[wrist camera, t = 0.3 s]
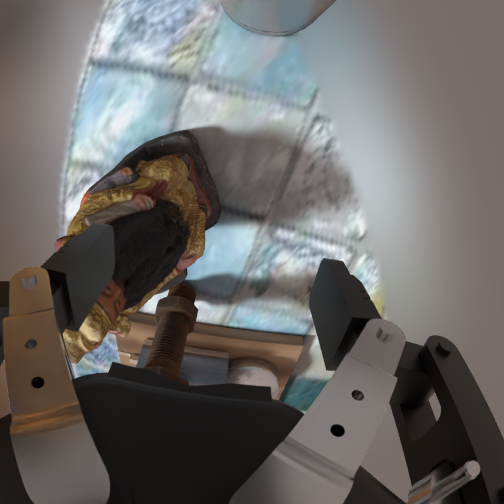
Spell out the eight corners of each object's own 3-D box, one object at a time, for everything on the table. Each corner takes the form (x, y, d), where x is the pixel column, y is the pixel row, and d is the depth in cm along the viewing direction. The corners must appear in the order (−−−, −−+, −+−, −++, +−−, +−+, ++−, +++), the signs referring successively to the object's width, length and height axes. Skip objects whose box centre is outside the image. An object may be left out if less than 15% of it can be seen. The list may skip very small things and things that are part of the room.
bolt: (198, 268, 33) (173, 379, 20) (212, 302, 36) (198, 411, 23) (153, 278, 34) (113, 382, 21) (169, 310, 37) (141, 413, 24)
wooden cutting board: (116, 308, 37) (111, 318, 35) (302, 336, 39) (304, 347, 37) (134, 402, 49) (132, 410, 47) (263, 420, 52) (263, 429, 50)
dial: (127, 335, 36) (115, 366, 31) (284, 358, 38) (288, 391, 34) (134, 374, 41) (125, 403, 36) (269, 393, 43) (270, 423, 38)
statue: (228, 218, 31) (206, 395, 13) (157, 233, 31) (83, 394, 14) (197, 101, 24) (85, 146, 7) (119, 126, 25) (-38, 215, 8)
